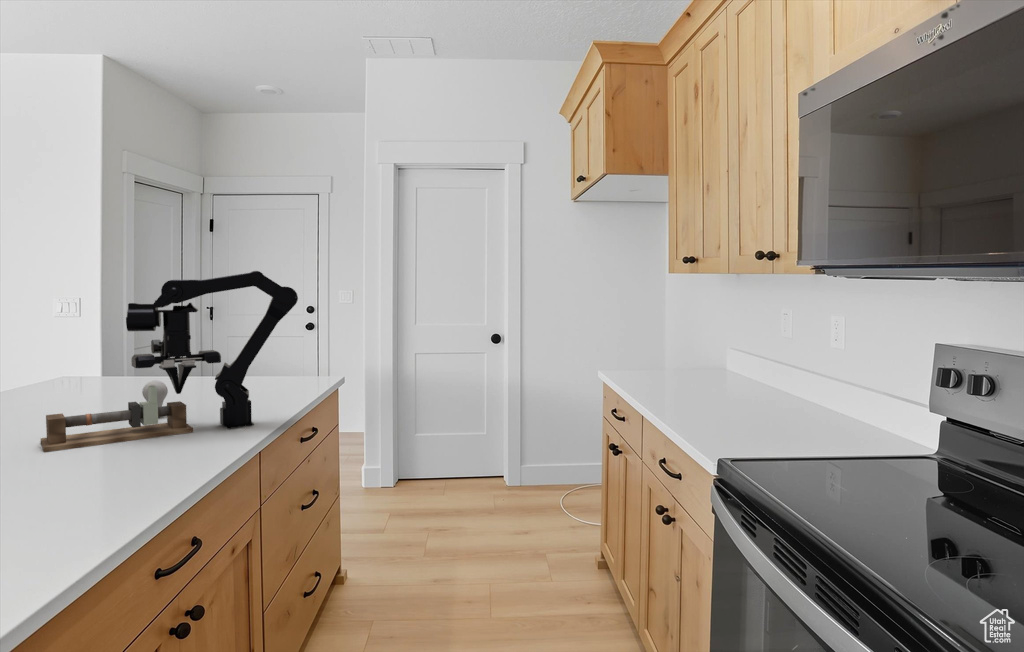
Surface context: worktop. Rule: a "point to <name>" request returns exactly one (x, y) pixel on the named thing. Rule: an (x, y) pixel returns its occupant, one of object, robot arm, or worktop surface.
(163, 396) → the light bulb
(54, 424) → the pipe stand
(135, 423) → the dark grey angular piece
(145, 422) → the sleeve
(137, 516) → the worktop surface
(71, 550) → the worktop surface
